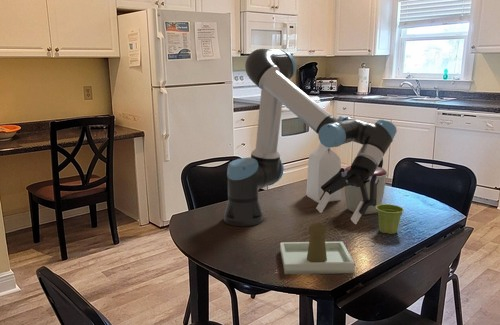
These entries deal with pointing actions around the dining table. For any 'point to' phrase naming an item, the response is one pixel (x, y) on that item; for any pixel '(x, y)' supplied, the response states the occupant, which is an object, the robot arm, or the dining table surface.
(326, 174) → the milk
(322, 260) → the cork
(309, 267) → the tray
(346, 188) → the canister
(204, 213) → the dining table surface
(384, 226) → the plant pot
